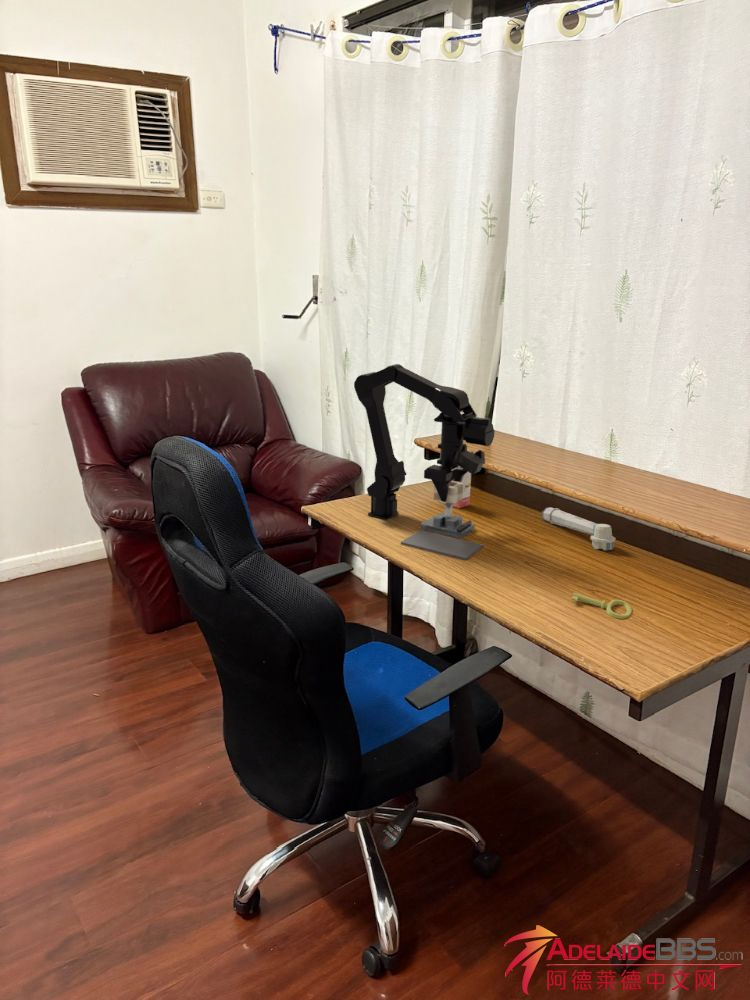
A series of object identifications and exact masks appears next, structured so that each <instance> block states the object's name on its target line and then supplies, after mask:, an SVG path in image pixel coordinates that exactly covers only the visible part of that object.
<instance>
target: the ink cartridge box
mask: <svg viewBox="0 0 750 1000" xmlns="http://www.w3.org/2000/svg"><path fill="white" fill-rule="evenodd" d="M439 466H441V464H439ZM471 481H472V474H471V473H469V472H468V473H466V474H465V475H464V477H463V479H462V482H463V483H465V498H463V499H461V500H460V501H458V502H456V503H455V504H454V503H453V505H452V508H453V507H454V508H457V509H461V508H464V507H468V506H470V504H471V503H470V502H471V501H470V500H471V499H470V498H471V486H472V485H471V484H472V482H471ZM437 501H439V500H437ZM438 503H441V504H443V505H445V502H442V501H439V502H438Z"/></svg>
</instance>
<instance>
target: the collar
mask: <svg viewBox="0 0 750 1000" xmlns="http://www.w3.org/2000/svg"><path fill="white" fill-rule="evenodd" d="M433 486H434V485H433ZM433 488H434V489H433V500H436V501H438V500H439V501H441V499H440V496H439V494H438V492H437V490H436V488H435V486H434V487H433ZM463 498H465V483H463V482H458V481H451V482H450V483H449V488H448V494H447V499H446V502H449V503H454V504H455V503H456V502H458V501H460V500H461V499H463Z"/></svg>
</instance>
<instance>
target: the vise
mask: <svg viewBox="0 0 750 1000" xmlns="http://www.w3.org/2000/svg"><path fill="white" fill-rule="evenodd" d="M452 505H453V503H449V502H445V504H444V511H441V512H440V513H439V514H437V515H432V516H431V517H429V518H428V519H426V520H424V521H422V522H421V523H420V529H419V530H422V531H426V532H431V533H435V534H439V535H443V536H448V537H452V538H456V539H460V540H463V538H465V536H467V535H469V534H470V533H472V532H473V531H474V530H475V527H476V526H475V525H476V524H475V523H472V520H471V519H470V520H467V521H463V516H462V515H457V514H455V515H454V516H453V506H452Z"/></svg>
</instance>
